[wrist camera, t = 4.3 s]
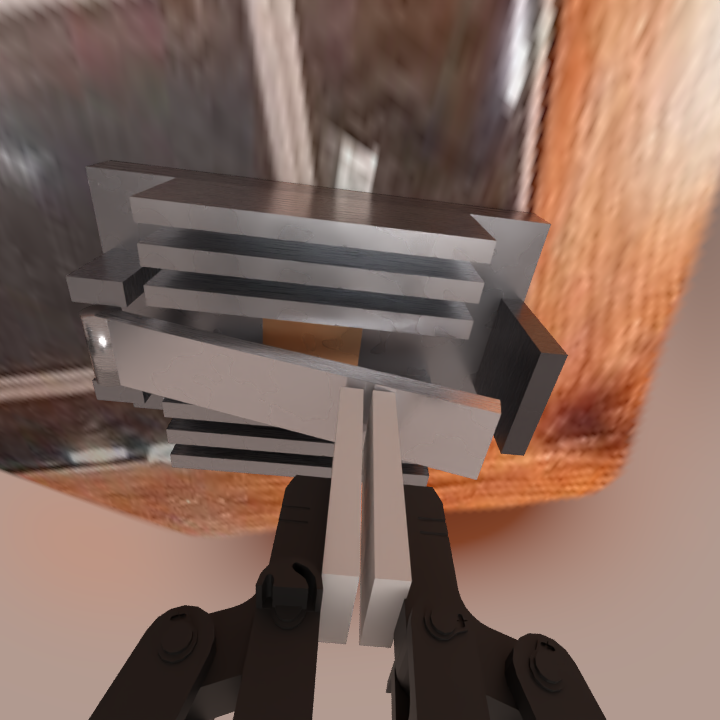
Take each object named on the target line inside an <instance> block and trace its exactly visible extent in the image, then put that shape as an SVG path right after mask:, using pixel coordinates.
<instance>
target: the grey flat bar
mask: <svg viewBox="0 0 720 720" xmlns="http://www.w3.org/2000/svg"><path fill="white" fill-rule="evenodd" d="M79 314H80V318H81V322H82V326H83V330H84V334H85V338H86V342H87V346H88V350H89V354H90V358H91V362H92V366H93V370H94V374H95V378H96V382H97V383H98V384H99V385H102V386H106V387H114V386H120V385H122V386H125V387H129V388H133V389H137V390H140V391H144V392H148V393H152V394H156V395H159V396H163V397H167V398H171V399H174V400H178V401H182V402H186V403H189V404H193V405H197V406H201V407H204V408H208V409H212V410H216V411H220V412H223V413H227V414H231V415H235V416H238V417H242V418H246V419H250V420H253V421H257V422H261V423H265V424H268V425H272V426H276V427H280V428H283V429H287V430H291V431H295V432H299V433H302V434H306V435H310V436H314V437H317V438H321V439H325V440H329V441H332V442H335V435H336V426H337V418H338V409H339V400H340V392H341V387H347V388H357V389H364V391H363V438H362V450H363V447H364V441H365V435H366V429H367V423H368V417H369V411H370V405H371V399H372V392H373V390H375V391H384V392H394V393H395V396H396V408H397V419H398V431H399V442H400V453H401V460H404V461H408V462H411V463H415V464H419V465H423V466H426V467H430V468H434V469H438V470H442V471H445V472H449V473H453V474H457V475H460V476H464V477H468V478H472V479H475V480H477V477H478V475H479V472H480V469H481V467H482V464H483V461H484V459H485V456H486V453H487V451H488V448H489V445H490V443H491V440H492V437H493V435H494V432H495V429H496V427H497V424H498V421H499V419H500V416H501V404H500V400H498V399H494V398H490V397H485V396H481V395H477V394H473V393H469V392H464V391H460V390H456V389H452V388H447V387H443V386H439V385H435V384H430V383H426V382H422V381H418V380H413V379H409V378H405V377H401V376H396V375H392V374H388V373H384V372H379V371H375V370H371V369H367V368H362V367H358V366H354V365H350V364H345V363H341V362H337V361H333V360H329V359H324V358H320V357H316V356H312V355H307V354H303V353H299V352H295V351H290V350H286V349H282V348H278V347H273V346H269V345H265V344H261V343H256V342H252V341H248V340H244V339H239V338H235V337H231V336H227V335H222V334H218V333H214V332H210V331H205V330H201V329H197V328H193V327H189V326H184V325H180V324H176V323H172V322H167V321H163V320H159V319H155V318H150V317H146V316H142V315H138V314H133V313H129V312H125V311H122V309H121V307H119V306H109V305H100V304H98V305H92V306H89V307H86V308H84V309H82V310H81V311H80V313H79Z"/></svg>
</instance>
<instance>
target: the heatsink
mask: <svg viewBox="0 0 720 720" xmlns="http://www.w3.org/2000/svg"><path fill="white" fill-rule="evenodd" d="M85 167H86V172H87V177H88V182H89V187H90V192H91V197H92V202H93V207H94V211H95V216H96V221H97V226H98V231H99V236H100V241H101V246H102V251H103V254H102V255H101V256H99V257H97V258H96V259H94V260H92V261H90V262H89V263H87V264H85V265H84V266H82V267H80V268H79V269H77V270H75V271H74V272H72V273H70V274H68V275H67V276H66V280H67V284H68V288H69V292H70V296H71V300H72V302H81V303H90V304H100V305H109V306H119V307H121V309H122V311H125V312H129V313H133V314H138V315H142V316H146V317H150V318H155V319H159V320H163V321H167V322H172V323H176V324H180V325H184V326H189V327H193V328H197V329H201V330H205V331H210V332H214V333H218V334H222V335H227V336H231V337H235V338H239V339H244V340H248V341H252V342H256V343H261V344H265V345H269V346H273V347H278V348H282V349H286V350H290V351H295V352H299V353H303V354H307V355H312V356H316V357H320V358H324V359H329V360H333V361H337V362H341V363H345V364H350V365H354V366H358V367H362V368H367V369H371V370H375V371H379V372H384V373H388V374H392V375H396V376H401V377H405V378H409V379H413V380H418V381H422V382H426V383H430V384H435V385H439V386H443V387H447V388H452V389H456V390H460V391H464V392H469V393H473V394H477V395H481V396H485V397H490V398H494V399H498V400H500V404H501V416H500V419H499V421H498V424H497V427H496V429H495V432H494V438H495V440H496V442H497V445H498V447H499V450H500V452H501V454H512V455H523V456H524V454H525V452H526V450H527V447H528V445H529V443H530V440H531V438H532V436H533V434H534V431H535V429H536V427H537V424H538V422H539V420H540V418H541V415H542V413H543V411H544V408H545V406H546V404H547V402H548V399H549V397H550V395H551V392H552V390H553V388H554V386H555V383H556V381H557V379H558V376H559V374H560V372H561V370H562V367H563V365H564V363H565V360H566V358H567V356H568V355H567V354H566V352H565V351H564V350H563V349H562V348H561V346H560V345H559V344H558V343H557V342H556V340H555V339H554V338H553V337H552V336H551V334H550V333H549V332H548V331H547V330H546V328H545V327H544V326H543V325H542V324H541V322H540V321H539V320H538V319H537V317H536V316H535V315H534V314H533V313H532V311H531V310H530V309H529V308H528V307H527V305H526V304H525V303H524V300H525V297H526V294H527V291H528V288H529V285H530V283H531V280H532V277H533V274H534V271H535V268H536V265H537V262H538V259H539V257H540V254H541V251H542V248H543V245H544V242H545V239H546V236H547V234H548V231H549V228H550V225H551V224H550V223H548V222H547V221H545V220H543V219H542V218H540V217H539V216H537V215H535V214H534V213H526V212H518V211H510V210H502V209H494V208H486V207H478V206H470V205H462V204H454V203H446V202H438V201H430V200H422V199H414V198H406V197H398V196H390V195H382V194H374V193H366V192H358V191H351V190H343V189H335V188H327V187H319V186H311V185H303V184H295V183H287V182H279V181H271V180H263V179H255V178H247V177H239V176H231V175H223V174H215V173H207V172H199V171H191V170H183V169H175V168H167V167H159V166H151V165H144V164H136V163H128V162H120V161H112V160H110V161H106V162H102V163H98V164H93V165H89V166H85ZM92 381H93V385H94V389H95V393H96V397H97V400H107V401H118V402H129V403H133V404H134V407H139V408H150V409H161V410H163V412H164V417H171V418H173V419H172V420H171V422H170V424H169V426H168V427H167V429H166V431H167V437H168V443H175V444H176V445H175V446H174V448H173V450H172V452H171V454H170V456H171V462H172V467H178V468H191V469H203V470H215V471H227V472H240V473H252V474H264V475H277V476H289V477H295V476H296V475H304V476H314V477H324V478H331V472H332V462H333V453H334V443H335V442H332V441H329V440H325V439H321V438H317V437H314V436H310V435H306V434H302V433H299V432H295V431H291V430H287V429H283V428H280V427H276V426H272V425H268V424H265V423H261V422H257V421H253V420H250V419H246V418H242V417H238V416H235V415H231V414H227V413H223V412H220V411H216V410H212V409H208V408H204V407H201V406H197V405H193V404H189V403H186V402H182V401H178V400H174V399H171V398H167V397H163V396H159V395H156V394H152V393H148V392H144V391H140V390H137V389H133V388H129V387H125V386H122V385H120V386H114V387H106V386H102V385H99V384H98V383H97V382H96V378H94V379H93V380H92ZM401 465H402V476H403V484H406V485H416V486H426V485H427V481H428V478H429V473H428V468H427V467H426V466H423V465H419V464H415V463H411V462H408V461H404V460H401ZM362 475H363V450H362Z"/></svg>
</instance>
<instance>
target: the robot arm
mask: <svg viewBox="0 0 720 720" xmlns="http://www.w3.org/2000/svg"><path fill="white" fill-rule="evenodd" d="M363 391H364V389H357V388H347V387H341V392H340V400H339V409H338V418H337V426H336V435H335V443H334V453H333V462H332V472H331V478H324V477H314V476H304V475H296V476H295V477H294V478H293V480H292V481H291V482H290V484H289V485H288V486H287V487H286V489H285V494H284V498H283V503H282V508H281V512H280V517H279V522H278V526H277V530H276V535H275V540H274V544H273V549H272V553H271V558H270V563H269V565H268V566H267V567H266V568H265V569H264V570H263V571H262V572H261V574H260V576H259V579H258V581H257V583H256V594H255V595H254V596H253V597H252V598H250V599H249V600H248V601H246V602H244V603H243V604H240V605H238V606H235V607H232V608H229V609H225V610H221V611H217V612H214V613H210V614H208V613H207V612H205V611H204V610H202V609H201V608H199V607H195V606H187V605H184V606H181V607H177V608H173V609H170V610H169V611H167V612H166V613H164V614H162V615H161V616H159V617H158V618H157V619H156V620H155V621H154V622H153V623H152V625H151V626H150V627H149V628H148V629H147V631H146V632H145V634H144V635H143V637H142V638H141V640H140V641H139V643H138V644H137V646H136V647H135V649H134V650H133V652H132V654H131V655H130V657H129V658H128V660H127V661H126V663H125V664H124V666H123V668H122V669H121V670H120V672H119V674H118V676H117V677H116V678H115V680H114V681H113V683H112V684H111V686H110V687H109V689H108V690H107V692H106V694H105V695H104V697H103V698H102V700H101V701H100V703H99V704H98V706H97V707H96V709H95V711H94V712H93V714H92V715H91V717H90V718H89V720H214V718H216V717H219V716H222V715H225V714H228V713H231V712H233V711H235V713H234V717H233V720H312V713H313V701H314V688H315V674H316V662H317V650H318V642H325V643H338V644H346V641H347V637H348V632H349V626H350V621H351V617H352V612H353V607H354V601H355V597H356V591H357V587H358V582H359V577H360V626H359V627H360V628H359V645H363V646H375V647H388V648H391V646H392V643H393V639H394V653H395V661H394V664H393V667H392V670H391V673H390V676H389V679H388V683H387V689H386V693H391V695H392V720H606V718H605V716H604V714H603V712H602V711H601V709H600V707H599V705H598V703H597V702H596V700H595V698H594V696H593V694H592V693H591V691H590V689H589V687H588V685H587V683H586V682H585V680H584V678H583V676H582V674H581V673H580V671H579V669H578V667H577V665H576V664H575V662H574V661H573V659H572V658H571V657H570V655H569V654H568V652H567V651H566V650H565V649H564V648H563V647H562V646H560V645H559V644H558V643H557V642H556V641H554V640H553V639H551V638H548V637H546V636H544V635H541V634H531V633H529V634H527V635H524V636H522V637H520V638H519V639H518V640H516V639H514V638H512V637H509V636H507V635H505V634H502V633H500V632H498V631H496V630H493V629H491V628H489V627H487V626H486V625H484V624H482V623H480V622H479V621H478V620H477V619H476V618H475V617H473V616H472V614H471V613H470V612H469V611H468V610H467V609H466V607H465V605H464V603H463V601H462V600H461V597H460V594H459V591H458V586H457V581H456V575H455V570H454V564H453V559H452V553H451V548H450V542H449V538H448V531H447V526H446V523H445V515H444V509H443V504H442V501H441V500H440V498H439V497H438V495H437V494H436V492H435V490H434V489H433V487H426V486H416V485H406V484H403V476H402V465H401V453H400V442H399V431H398V419H397V408H396V396H395V393H394V392H384V391H375V390H373V392H372V399H371V405H370V411H369V417H368V423H367V429H366V435H365V441H364V447H363V475H362V438H363ZM361 485H362V525H361ZM360 529H361V530H360ZM360 531H361V576H360Z"/></svg>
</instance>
